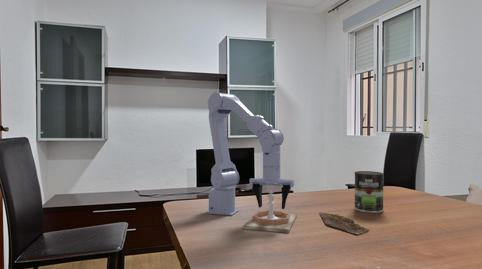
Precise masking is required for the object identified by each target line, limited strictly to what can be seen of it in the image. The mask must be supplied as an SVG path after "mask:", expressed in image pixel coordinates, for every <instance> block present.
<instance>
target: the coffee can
mask: <svg viewBox="0 0 482 269" xmlns="http://www.w3.org/2000/svg"><path fill="white" fill-rule="evenodd" d="M353 173H354V210H356V211H357V212H361V213H362V212H363V213H368V214H379V213H383V212H384V175H385V174H384V173H383V172H381V171H380V172H379V171H372V170H371V171H368V170H358V171H354V172H353Z"/></svg>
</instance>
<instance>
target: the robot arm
mask: <svg viewBox="0 0 482 269" xmlns="http://www.w3.org/2000/svg"><path fill="white" fill-rule="evenodd" d="M207 106H208V107H207V108H208V121H209V128H210V135H211V142H212V147H213V153H214V160H215V164H214V165H213V166H212V168H211V169H210V170H211V175H210V183H211V185H212V188H210V189H209V191H208V212H207V214H209V215H210V214H211V215H220V216H221V215H222V216H234V215H235V214H236V213H237V212H239V210H240V209H239V208H236V188H237V185H238V184H239V182H240V175H239V172H238V170H237V168H236V167H237V166H236V165H235V163H233V161H231V157H230V150H229V145H228V137H227V131H226V126H225V119H226V118H227V117H228V116H229V115H230V114H231V113H233V112H234V114H236V115H237V116H238V117H240V118H241V119H242V120H243V121H244V122H246V127H247V129H249V131H250V132H252V134H254V136H256V137H257V139H258V141H259V142H258V143H259V144H260V146H261V152H262V177H261V178H259V177H258V178H257V177H255V178H252V177H251V178H249V185H250V186H251V189H252V191H253V193H254V196H255V198H256V200H257V206H258V208H259V209H260V208H262V207H263V186H274V187H275V186H277V187H281V189H280V190H281V210H285V209H286V203H287V198H288V195H289V193H290V191H291V189H292V188H293V187H294V186H295V180H294V179H287V178H285V179H284V178H281V146H282V144H283V143H284V141H285V140H284V134H283V132H282V131H281V130H280V129H278V128H274V126H273V125H272V124H269V123H268V122H267V121H266V120H264V118H265V117H264V116H262V115H259V114H253V113H252V112H251V111H250V110H249V109H248V108H247V107H246V106H245V104H243V103H242V101H240V98H239V97H237V96H236V94H233V93H230V94H229V93H225V92H224V93H223V92H219V91H214V92H212V93H211V94H210V96H209V98H208V99H207Z"/></svg>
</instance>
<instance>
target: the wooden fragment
mask: <svg viewBox="0 0 482 269" xmlns="http://www.w3.org/2000/svg"><path fill="white" fill-rule="evenodd" d="M318 213H319V215H320V216H321V218H322V220H323V222H324V223H325V225H327V226H329V227H333V228H335V229H339V230H342V231H345V232H348V233H352V234H355V235H356V236H361V235H365V234H366V233H368V232H369V231H370V229H368V228H367V227H364V226H361V225H360V224H359V223H358V224H357V223H355V220H353V219H352V218H348V217H345V216H344V215H339V214H337V213H335V214H333V213H326V212H318Z"/></svg>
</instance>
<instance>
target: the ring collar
mask: <svg viewBox="0 0 482 269" xmlns="http://www.w3.org/2000/svg"><path fill="white" fill-rule="evenodd" d="M273 213H274V215H275V216H282V217H284V218H281V219H262V218H260V216H267V215H268V214H269V209H268V210H261V211H259V212H258V211H255V213H254V214H253V215H252V217H253V220H254V221H256V222H258V223H260V224H268V225H279V224H285V223H289V221H290V214H291V213H289V212H285V211H283V210H273Z"/></svg>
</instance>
